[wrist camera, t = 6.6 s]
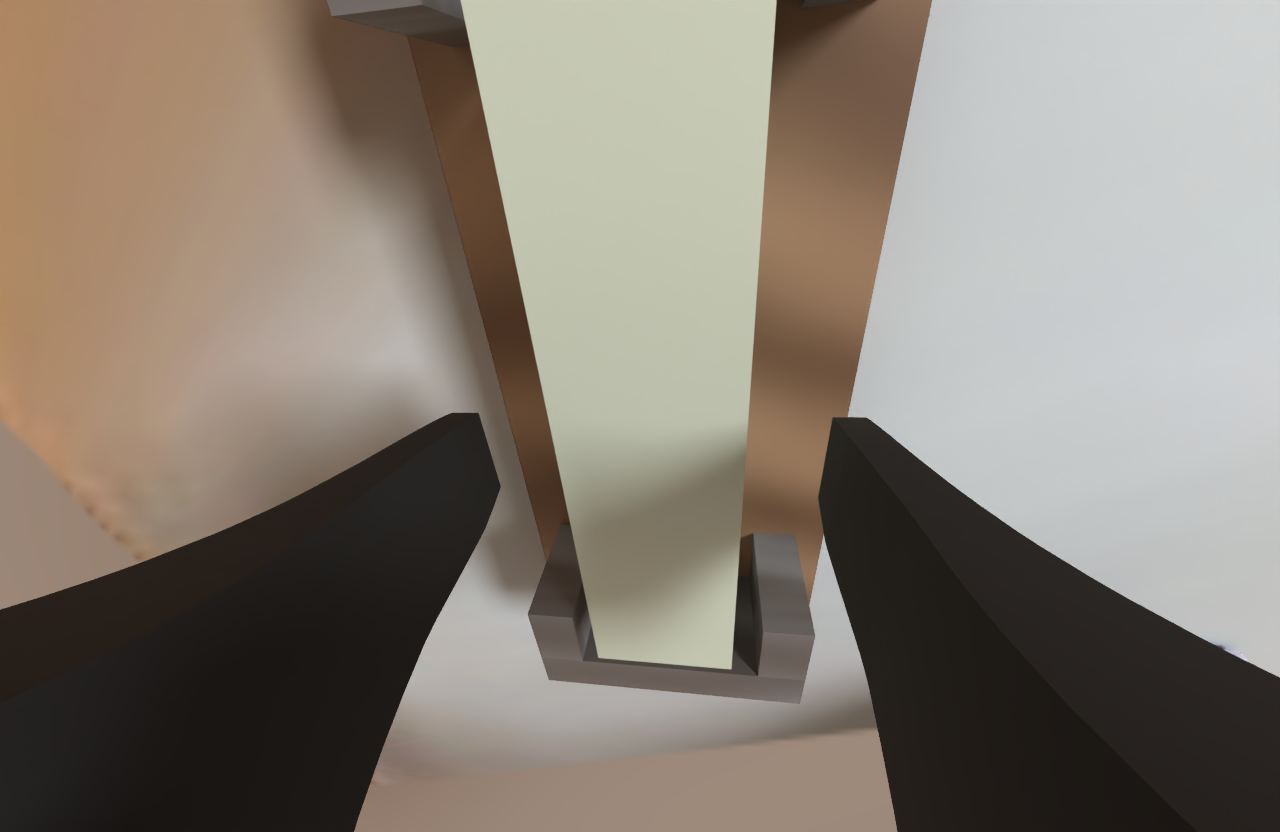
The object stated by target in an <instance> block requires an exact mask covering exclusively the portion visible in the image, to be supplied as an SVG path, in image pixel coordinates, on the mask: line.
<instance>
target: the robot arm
mask: <svg viewBox="0 0 1280 832" xmlns="http://www.w3.org/2000/svg"><path fill="white" fill-rule="evenodd" d="M500 487H501V486H500V483H499V480H498V476H497V473H496V470H495V466H494V463H493V460H492V456H491V453H490V450H489V446H488V443H487V440H486V437H485V433H484V430H483V427H482V423H481V420H480V417H479V413H451V414H448V415H446V416H444V417H442V418H439V419H437V420H435V421H433V422H432V423H430V424H428V425H426V426H424V427H422V428H420V429H419V430H417V431H415V432H413V433H411V434H410V435H408V436H406V437H404V438H403V439H401V440H399V441H397V442H396V443H394V444H392V445H390V446H389V447H387V448H385V449H383V450H381V451H380V452H378V453H376V454H374V455H373V456H371V457H369V458H367V459H366V460H364V461H362V462H360V463H359V464H357V465H355V466H353V467H351V468H349V469H347V470H346V471H344V472H342V473H340V474H338V475H336V476H334V477H332V478H331V479H329V480H327V481H325V482H323V483H321V484H319V485H317V486H316V487H314V488H312V489H310V490H308V491H306V492H304V493H302V494H300V495H298V496H296V497H294V498H292V499H290V500H288V501H286V502H284V503H282V504H280V505H278V506H276V507H274V508H272V509H270V510H267V511H265V512H263V513H261V514H259V515H256V516H254V517H252V518H250V519H248V520H245V521H243V522H241V523H239V524H236V525H234V526H232V527H230V528H227V529H225V530H223V531H220V532H218V533H215V534H213V535H210V536H208V537H205V538H203V539H200V540H198V541H195V542H193V543H190V544H188V545H185V546H183V547H180V548H177V549H175V550H172V551H170V552H167V553H165V554H162V555H160V556H157V557H155V558H152V559H150V560H147V561H144V562H142V563H139V564H136V565H134V566H131V567H128V568H125V569H122V570H120V571H117V572H114V573H111V574H108V575H105V576H102V577H100V578H97V579H94V580H91V581H88V582H85V583H82V584H79V585H76V586H73V587H70V588H67V589H64V590H61V591H58V592H55V593H52V594H49V595H46V596H43V597H40V598H37V599H33V600H30V601H27V602H24V603H21V604H18V605H14V606H11V607H8V608H5V609H1V610H0V832H354V830H355V827H356V823H357V820H358V817H359V814H360V811H361V808H362V805H363V802H364V799H365V797H366V794H367V791H368V788H369V785H370V782H371V780H372V777H373V774H374V771H375V768H376V765H377V762H378V760H379V757H380V754H381V751H382V748H383V746H384V743H385V740H386V738H387V735H388V733H389V730H390V727H391V725H392V722H393V720H394V717H395V714H396V712H397V709H398V707H399V704H400V702H401V699H402V696H403V694H404V691H405V689H406V686H407V684H408V682H409V679H410V677H411V675H412V672H413V670H414V667H415V665H416V663H417V660H418V658H419V655H420V653H421V651H422V648H423V646H424V644H425V641H426V639H427V637H428V635H429V633H430V631H431V629H432V627H433V625H434V623H435V621H436V619H437V617H438V615H439V614H440V612H441V610H442V608H443V606H444V604H445V603H446V601H447V599H448V597H449V595H450V593H451V591H452V590H453V588H454V586H455V584H456V582H457V580H458V579H459V577H460V575H461V573H462V571H463V569H464V568H465V566H466V564H467V562H468V560H469V558H470V556H471V555H472V553H473V551H474V549H475V547H476V545H477V543H478V541H479V539H480V538H481V536H482V534H483V532H484V530H485V528H486V525H487V523H488V520H489V518H490V515H491V512H492V510H493V507H494V504H495V501H496V498H497V496H498V493H499V490H500ZM818 501H819V507H820V513H821V520H822V526H823V531H824V536H825V542H826V546H827V549H828V553H829V556H830V559H831V563H832V566H833V569H834V572H835V576H836V579H837V582H838V585H839V588H840V592H841V595H842V598H843V601H844V604H845V607H846V611H847V614H848V617H849V620H850V623H851V626H852V630H853V633H854V636H855V639H856V642H857V645H858V649H859V652H860V655H861V659H862V662H863V666H864V670H865V673H866V677H867V681H868V685H869V690H870V694H871V699H872V704H873V709H874V713H875V718H876V723H877V728H878V732H879V737H880V742H881V746H882V752H883V757H884V762H885V768H886V773H887V778H888V783H889V788H890V793H891V798H892V804H893V809H894V814H895V820H896V825H897V831H898V832H1280V678H1279V677H1277V676H1275V675H1273V674H1271V673H1269V672H1267V671H1265V670H1263V669H1261V668H1259V667H1257V666H1255V665H1253V664H1251V663H1249V662H1248V660H1247V659H1246V658H1245V657H1244V656H1243V655H1242V654H1241V653H1240V652H1238V651H1235V650H1228V649H1221V648H1219V647H1217V646H1215V645H1213V644H1211V643H1210V642H1208V641H1206V640H1204V639H1202V638H1200V637H1198V636H1196V635H1194V634H1192V633H1191V632H1189V631H1187V630H1185V629H1183V628H1181V627H1179V626H1178V625H1176V624H1174V623H1172V622H1170V621H1168V620H1166V619H1165V618H1163V617H1161V616H1159V615H1157V614H1155V613H1153V612H1152V611H1150V610H1148V609H1146V608H1144V607H1142V606H1140V605H1139V604H1137V603H1135V602H1133V601H1131V600H1129V599H1128V598H1126V597H1124V596H1122V595H1121V594H1119V593H1117V592H1115V591H1114V590H1112V589H1110V588H1108V587H1107V586H1105V585H1103V584H1101V583H1100V582H1098V581H1096V580H1094V579H1093V578H1091V577H1089V576H1088V575H1086V574H1084V573H1083V572H1081V571H1080V570H1078V569H1076V568H1075V567H1073V566H1071V565H1070V564H1068V563H1066V562H1065V561H1063V560H1062V559H1060V558H1058V557H1057V556H1055V555H1053V554H1052V553H1050V552H1048V551H1047V550H1045V549H1044V548H1042V547H1040V546H1039V545H1037V544H1036V543H1034V542H1033V541H1031V540H1030V539H1028V538H1026V537H1025V536H1023V535H1022V534H1020V533H1019V532H1017V531H1016V530H1014V529H1013V528H1011V527H1010V526H1009V525H1007V524H1006V523H1004V522H1003V521H1001V520H1000V519H999V518H997V517H996V516H994V515H993V514H991V513H990V512H988V511H987V510H986V509H984V508H983V507H981V506H980V505H978V504H977V503H976V502H974V501H973V500H972V499H970V498H969V497H968V496H966V495H965V494H963V493H962V492H961V491H959V490H958V489H957V488H955V487H954V486H953V485H951V484H950V483H949V482H947V481H946V480H945V479H944V478H942V477H941V476H940V475H938V474H937V473H936V472H935V471H933V470H932V469H931V468H929V467H928V466H927V465H926V464H924V463H923V462H922V461H921V460H919V459H918V458H917V457H916V456H914V455H913V454H912V453H911V452H910V451H908V450H907V449H906V448H905V447H903V446H902V445H901V444H900V443H898V442H897V441H896V440H895V439H894V438H892V437H891V436H890V435H889V434H887V433H886V432H885V431H884V430H882V429H881V428H880V427H879V426H877V425H876V424H875V423H873V422H872V421H871V420H869V419H868V418H854V417H833V418H832V424H831V429H830V435H829V440H828V446H827V451H826V457H825V462H824V468H823V473H822V479H821V484H820V490H819V495H818Z"/></svg>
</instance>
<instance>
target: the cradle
mask: <svg viewBox="0 0 1280 832" xmlns="http://www.w3.org/2000/svg"><path fill="white" fill-rule="evenodd" d="M931 2H932V0H777V2H776V17H775V31H774V46H773V61H772V76H771V91H770V105H769V120H768V135H767V150H766V165H765V180H764V194H763V209H762V224H761V239H760V254H759V269H758V283H757V298H756V313H755V328H754V343H753V358H752V372H751V387H750V402H749V417H748V432H747V446H746V461H745V476H744V491H743V506H742V521H741V535H740V550H739V565H738V580H737V595H736V610H735V624H734V639H733V654H732V669H720V668H708V667H697V666H686V665H674V664H663V663H651V662H640V661H628V660H617V659H605V658H598V654H597V649H596V644H595V639H594V635H593V630H592V625H591V620H590V616H589V611H588V606H587V601H586V596H585V592H584V587H583V582H582V577H581V573H580V568H579V563H578V558H577V553H576V549H575V544H574V539H573V534H572V530H571V525H570V520H569V515H568V511H567V506H566V501H565V496H564V491H563V487H562V482H561V477H560V472H559V468H558V463H557V458H556V453H555V448H554V444H553V439H552V434H551V429H550V425H549V420H548V415H547V410H546V406H545V401H544V396H543V391H542V386H541V382H540V377H539V372H538V367H537V363H536V358H535V353H534V348H533V343H532V339H531V334H530V329H529V324H528V320H527V315H526V310H525V305H524V300H523V296H522V291H521V286H520V281H519V277H518V272H517V267H516V262H515V258H514V253H513V248H512V243H511V238H510V234H509V229H508V224H507V219H506V215H505V210H504V205H503V200H502V195H501V191H500V186H499V181H498V176H497V172H496V167H495V162H494V157H493V153H492V148H491V143H490V138H489V133H488V129H487V124H486V119H485V114H484V110H483V105H482V100H481V95H480V90H479V86H478V81H477V76H476V71H475V67H474V62H473V57H472V52H471V48H470V43H469V38H468V33H467V28H466V24H465V19H464V14H463V9H462V5H461V0H327V3H328V6H329V9H330V12H331V15H332V17H336V18H340V19H344V20H348V21H352V22H356V23H360V24H364V25H368V26H372V27H375V28H379V29H383V30H387V31H391V32H395V33H399V34H403V35H407V36H408V40H409V44H410V48H411V51H412V55H413V59H414V63H415V66H416V70H417V74H418V78H419V82H420V85H421V89H422V93H423V97H424V100H425V104H426V108H427V112H428V116H429V119H430V123H431V127H432V131H433V134H434V138H435V142H436V146H437V150H438V153H439V157H440V161H441V165H442V168H443V172H444V176H445V180H446V183H447V187H448V191H449V195H450V199H451V202H452V206H453V210H454V214H455V217H456V221H457V225H458V229H459V233H460V236H461V240H462V244H463V248H464V251H465V255H466V259H467V263H468V267H469V270H470V274H471V278H472V282H473V285H474V289H475V293H476V297H477V301H478V304H479V308H480V312H481V316H482V319H483V323H484V327H485V331H486V335H487V338H488V342H489V346H490V350H491V353H492V357H493V361H494V365H495V368H496V372H497V376H498V380H499V384H500V387H501V391H502V395H503V399H504V402H505V406H506V410H507V414H508V418H509V421H510V425H511V429H512V433H513V436H514V440H515V444H516V448H517V452H518V455H519V459H520V463H521V467H522V470H523V474H524V478H525V482H526V486H527V489H528V493H529V497H530V501H531V504H532V508H533V512H534V516H535V519H536V523H537V527H538V531H539V535H540V538H541V542H542V546H543V550H544V553H545V557H546V561H547V563H546V566H545V568H544V571H543V574H542V577H541V579H540V582H539V585H538V587H537V590H536V593H535V596H534V598H533V601H532V604H531V607H530V609H529V612H528V617H529V620H530V623H531V626H532V629H533V632H534V635H535V638H536V641H537V644H538V647H539V651H540V654H541V657H542V660H543V663H544V666H545V669H546V672H547V675H548V678H549V680H556V681H566V682H577V683H587V684H598V685H608V686H619V687H629V688H640V689H650V690H661V691H671V692H682V693H692V694H703V695H713V696H724V697H734V698H745V699H755V700H766V701H776V702H787V703H797V704H800V700H801V696H802V691H803V687H804V683H805V678H806V674H807V669H808V665H809V661H810V656H811V652H812V647H813V643H814V639H815V633H814V628H813V623H812V618H811V613H810V608H809V603H810V598H811V593H812V589H813V584H814V579H815V574H816V569H817V564H818V559H819V554H820V549H821V544H822V539H823V534H824V531H823V526H822V520H821V513H820V507H819V501H818V495H819V490H820V484H821V479H822V473H823V468H824V462H825V457H826V451H827V446H828V440H829V435H830V429H831V424H832V418H833V417H847V416H848V411H849V406H850V401H851V396H852V392H853V387H854V382H855V377H856V372H857V367H858V362H859V357H860V352H861V347H862V342H863V337H864V332H865V327H866V323H867V318H868V313H869V308H870V303H871V298H872V293H873V288H874V283H875V278H876V273H877V268H878V263H879V259H880V254H881V249H882V244H883V239H884V234H885V229H886V224H887V219H888V214H889V209H890V204H891V199H892V195H893V190H894V185H895V180H896V175H897V170H898V165H899V160H900V155H901V150H902V145H903V140H904V135H905V130H906V126H907V121H908V116H909V111H910V106H911V101H912V96H913V91H914V86H915V81H916V76H917V71H918V66H919V62H920V57H921V52H922V47H923V42H924V37H925V32H926V27H927V22H928V17H929V12H930V7H931Z"/></svg>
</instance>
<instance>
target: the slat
mask: <svg viewBox="0 0 1280 832" xmlns="http://www.w3.org/2000/svg"><path fill="white" fill-rule="evenodd" d="M776 2H777V0H461V5H462V9H463V14H464V19H465V24H466V28H467V33H468V38H469V43H470V48H471V52H472V57H473V62H474V67H475V71H476V76H477V81H478V86H479V90H480V95H481V100H482V105H483V110H484V114H485V119H486V124H487V129H488V133H489V138H490V143H491V148H492V153H493V157H494V162H495V167H496V172H497V176H498V181H499V186H500V191H501V195H502V200H503V205H504V210H505V215H506V219H507V224H508V229H509V234H510V238H511V243H512V248H513V253H514V258H515V262H516V267H517V272H518V277H519V281H520V286H521V291H522V296H523V300H524V305H525V310H526V315H527V320H528V324H529V329H530V334H531V339H532V343H533V348H534V353H535V358H536V363H537V367H538V372H539V377H540V382H541V386H542V391H543V396H544V401H545V406H546V410H547V415H548V420H549V425H550V429H551V434H552V439H553V444H554V448H555V453H556V458H557V463H558V468H559V472H560V477H561V482H562V487H563V491H564V496H565V501H566V506H567V511H568V515H569V520H570V525H571V530H572V534H573V539H574V544H575V549H576V553H577V558H578V563H579V568H580V573H581V577H582V582H583V587H584V592H585V596H586V601H587V606H588V611H589V616H590V620H591V625H592V630H593V635H594V639H595V644H596V649H597V654H598V658H605V659H617V660H628V661H640V662H651V663H663V664H674V665H686V666H697V667H708V668H720V669H732V654H733V639H734V624H735V610H736V595H737V580H738V565H739V550H740V535H741V521H742V506H743V491H744V476H745V461H746V446H747V432H748V417H749V402H750V387H751V372H752V358H753V343H754V328H755V313H756V298H757V283H758V269H759V254H760V239H761V224H762V209H763V194H764V180H765V165H766V150H767V135H768V120H769V105H770V91H771V76H772V61H773V46H774V31H775V17H776Z"/></svg>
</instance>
